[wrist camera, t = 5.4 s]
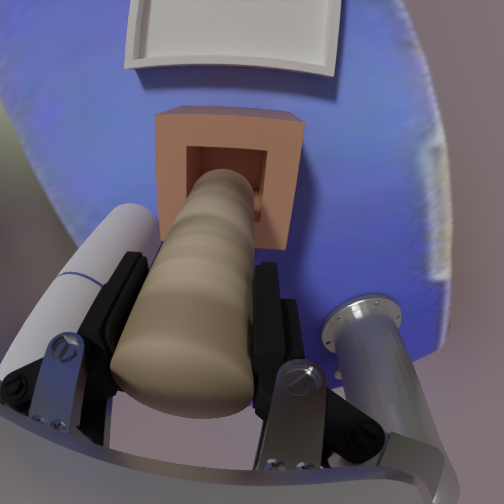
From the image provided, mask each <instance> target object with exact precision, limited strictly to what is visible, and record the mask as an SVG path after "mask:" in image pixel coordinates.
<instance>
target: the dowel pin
mask: <svg viewBox="0 0 504 504" xmlns="http://www.w3.org/2000/svg"><path fill="white" fill-rule="evenodd" d="M253 279H254V192H253V189H252V187H251V185H250V183H249V182H248V181H247V179H246V178H245V177H243V176H242V175H241V174H239V173H237V172H235V171H233V170H229V169H215V170H211V171H209V172H207V173H205V174H204V175H202V176H201V177H200V178H199V179H198V180H197V181H196V183H195V185H194V186H193V188H192V190H191V192H190V194H189V195H188V197H187V199H186V201H185V203H184V204H183V206H182V208H181V210H180V212H179V214H178V216H177V218H176V219H175V221H174V223H173V225H172V227H171V229H170V231H169V233H168V235H167V237H166V239H165V241H164V243H163V245H162V247H161V249H160V251H159V253H158V255H157V257H156V259H155V261H154V263H153V265H152V267H151V269H150V271H149V273H148V276H147V278H146V280H145V282H144V284H143V286H142V289H141V291H140V293H139V295H138V297H137V300H136V302H135V304H134V306H133V309H132V311H131V313H130V316H129V318H128V320H127V323H126V325H125V328H124V330H123V332H122V335H121V337H120V340H119V342H118V345H117V347H116V350H115V352H114V355H113V358H112V360H111V363H110V370H111V374H112V376H113V378H114V380H115V382H116V383H117V384H118V385H119V387H120V388H121V389H122V390H123V391H124V392H126V393H127V394H128V395H129V396H131V397H132V398H134V399H135V400H137V401H139V402H141V403H142V404H144V405H146V406H148V407H150V408H153V409H155V410H158V411H161V412H164V413H167V414H171V415H175V416H180V417H187V418H196V419H197V418H198V419H211V418H220V417H225V416H230V415H232V414H235V413H237V412H240V411H242V410H243V409H245V408H246V407H247V406H248V405H249V404H250V403H251V401H252V399H253V397H254V375H253V371H252V356H253Z"/></svg>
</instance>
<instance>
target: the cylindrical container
mask: <svg viewBox="0 0 504 504" xmlns="http://www.w3.org/2000/svg"><path fill="white" fill-rule="evenodd" d="M161 242H162V241H161V238H160V227H159V221H158V220H157V218H156V217H155V216H154V214H153V213H152V212H150V211H149V210H148V209H146V208H145V207H143V206H141V205H138V204H133V203H126V204H122V205H119V206H117V207H116V208H114V209H113V210H112V211H111V212H110V213H109V215H108V216H107V217H106V218H105V219H104V220H103V221H102V222H101V223H100V224H99V226H98V227H97V228H96V229H95V230H94V231H93V232H92V234H91V235H90V236H89V237H88V238H87V239H86V241H85V242H84V243H83V244H82V245H81V247H80V248H79V249H78V250H77V251H76V253H75V254H74V255H73V256H72V258H71V259H70V260H69V261H68V263H67V264H66V265H65V267H64V268H63V269H62V270H61V272H60V273H59V274H58V276H57V277H56V278H55V280H54V281H53V282H52V284H51V285H50V286H49V288H48V289H47V291H46V292H45V293H44V295H43V296H42V298H41V299H40V301H39V302H38V303H37V305H36V306H35V308H34V309H33V311H32V312H31V314H30V315H29V317H28V319H27V320H26V322H25V323H24V325H23V326H22V328H21V330H20V331H19V333H18V335H17V336H16V338H15V340H14V341H13V343H12V345H11V347H10V348H9V350H8V352H7V353H6V355H5V357H4V359H3V361H2V363H1V364H0V380H1V381H3V379H4V378H5V377H6V375H8V374H9V373H11V372H12V371H15V370H17V369H19V368H21V367H23V366H25V365H27V364H30V363H32V362H34V361H36V360H38V359H40V358H42V357H44V355H45V352H46V349H47V346H48V344H49V342H50V341H51V340H52V339H53V338H54V337H55V336H57V335H58V334H60V333H63V332H74V333H77V331H78V329H79V327H80V325H81V323H82V322H83V320H84V318H85V316H86V314H87V312H88V311H89V309H90V307H91V305H92V303H93V302H94V300H95V298H96V296H97V295H98V293H99V291H100V289H101V288H102V286H103V285H104V284H105V283H107V282H108V281H109V279H110V277H111V276H112V274H113V272H114V271H115V269H116V267H117V266H118V264H119V263H120V261H121V259H122V258H123V256H124V255H125V253H126V252H127V251H133V252H141V253H142V254H143V256H146V257H147V261H148V268H149V267H150V265H151V263H152V261H153V259H154V257H155V255H156V253H157V251H158V249H159V247H160V245H161Z"/></svg>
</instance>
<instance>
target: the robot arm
mask: <svg viewBox="0 0 504 504" xmlns="http://www.w3.org/2000/svg"><path fill="white" fill-rule="evenodd" d="M148 273H149V268H148V261H147V257H146V256H143V254H142V253H141V252H133V251H127V252H126V253H125V255H124V256H123V258H122V259H121V261H120V263H119V264H118V266H117V267H116V269H115V271H114V272H113V274H112V276H111V277H110V279H109V281H108V282H107V283H105V284H104V285H103V286H102V288H101V289H100V291H99V293H98V295H97V296H96V298H95V300H94V302H93V303H92V305H91V307H90V309H89V311H88V312H87V314H86V316H85V318H84V320H83V322H82V323H81V325H80V327H79V329H78V331H77V333H74V332H63V333H60V334H58V335H57V336H55V337H54V338H53V339H52V340H51V341H50V342H49V344H48V346H47V349H46V352H45V355H44V357H42V358H40V359H38V360H36V361H34V362H32V363H30V364H27V365H25V366H23V367H21V368H19V369H17V370H15V371H12V372H11V373H9V374H8V375H6V377H5V378H4V379H3V381H1V380H0V504H457V502H458V500H459V496H460V488H459V482H458V479H457V476H456V473H455V471H454V469H453V467H452V465H451V462H450V460H449V458H448V456H447V454H446V452H445V450H444V447H443V445H442V442H441V440H440V437H439V435H438V432H437V430H436V426H435V424H434V421H433V418H432V416H431V413H430V410H429V407H428V404H427V401H426V398H425V395H424V393H423V390H422V387H421V384H420V382H419V379H418V376H417V374H416V371H415V369H414V366H413V363H412V361H411V358H410V356H409V354H408V351H407V349H406V346H405V344H404V342H403V339H402V337H401V335H400V332H399V330H398V328H399V326H400V324H401V320H402V312H401V309H400V307H399V305H398V304H397V302H396V301H395V300H394V299H392V298H390V297H389V296H385V295H380V294H371V295H364V296H360V297H357V298H354V299H352V300H349V301H347V302H345V303H344V304H342V305H340V306H339V307H338V308H336V309H335V310H334V311H333V312H332V313H331V314H330V315H329V316H328V317H327V319H326V320H325V322H324V324H323V326H322V329H321V338H322V342H323V344H324V346H325V348H327V349H328V350H329V351H330V352H332V353H335V354H336V356H337V360H338V365H339V366H338V367H337V368H336V370H335V372H334V377H335V378H336V379H342V383H343V387H344V391H345V397H346V400H344V399H343V398H342V397H340V396H339V395H337V394H336V393H334V392H333V391H332V390H330V389H329V388H327V381H326V375H325V373H324V372H323V370H322V369H321V368H320V367H319V366H318V365H317V364H315V363H313V362H312V361H308V360H305V356H304V349H303V342H302V335H301V329H300V322H299V316H298V309H297V303H296V300H295V299H280V290H279V280H278V271H277V263H276V262H262V261H261V265H255V270H254V279H253V356H252V371H253V375H254V397H253V399H252V400H253V408H255V414H256V415H258V416H259V417H260V418H261V419H262V420H263V424H262V428H261V433H260V437H259V442H258V447H257V451H256V456H255V460H254V465H253V469H252V471H251V470H250V471H249V470H229V469H228V470H227V469H215V468H206V467H197V466H190V465H182V464H176V463H169V462H164V461H159V460H154V459H149V458H144V457H140V456H136V455H132V454H128V453H124V452H120V451H116V450H113V449H110V448H109V443H110V425H111V412H112V401H113V396H115V395H116V393H117V391H122V392H124V391H123V390H122V389H121V388H120V387H119V385H118V384H117V383H116V382H115V380H114V378H113V376H112V374H111V370H110V363H111V360H112V358H113V355H114V352H115V350H116V347H117V345H118V342H119V340H120V337H121V335H122V332H123V330H124V328H125V325H126V323H127V320H128V318H129V316H130V313H131V311H132V309H133V306H134V304H135V302H136V300H137V297H138V295H139V293H140V291H141V289H142V286H143V284H144V282H145V280H146V278H147V276H148ZM320 466H322V467H323V468H322V469H320Z"/></svg>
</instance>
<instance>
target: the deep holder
mask: <svg viewBox="0 0 504 504" xmlns="http://www.w3.org/2000/svg"><path fill="white" fill-rule="evenodd" d="M304 126H305V122H303V121H302V120H301V119H299V118H298V117H296V116H295V115H294V114H292V113H291V112H285V111H276V110H266V109H255V108H242V107H223V106H180V107H177V108H174V109H171V110H168V111H165V112H162V113H159V114H156V115H155V151H156V181H157V200H158V214H159V227H160V238H161V241H165V239H166V237H167V235H168V233H169V231H170V229H171V227H172V225H173V223H174V221H175V219H176V218H177V216H178V214H179V212H180V210H181V208H182V206H183V204H184V203H185V201H186V199H187V197H188V195H189V194H190V192H191V190H192V188H193V186H194V185H195V183H196V181H197V180H198V179H199V178H200V177H201V176H202V175H204V174H205V173H207V172H209V171H211V170H215V169H229V170H233V171H235V172H237V173H239V174H241V175H242V176H243V177H245V178H246V179H247V181H248V182H249V183H250V185H251V187H252V189H253V192H254V248H263V249H276V250H286V244H287V238H288V232H289V226H290V220H291V214H292V208H293V202H294V195H295V189H296V182H297V176H298V169H299V162H300V155H301V148H302V141H303V134H304Z"/></svg>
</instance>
